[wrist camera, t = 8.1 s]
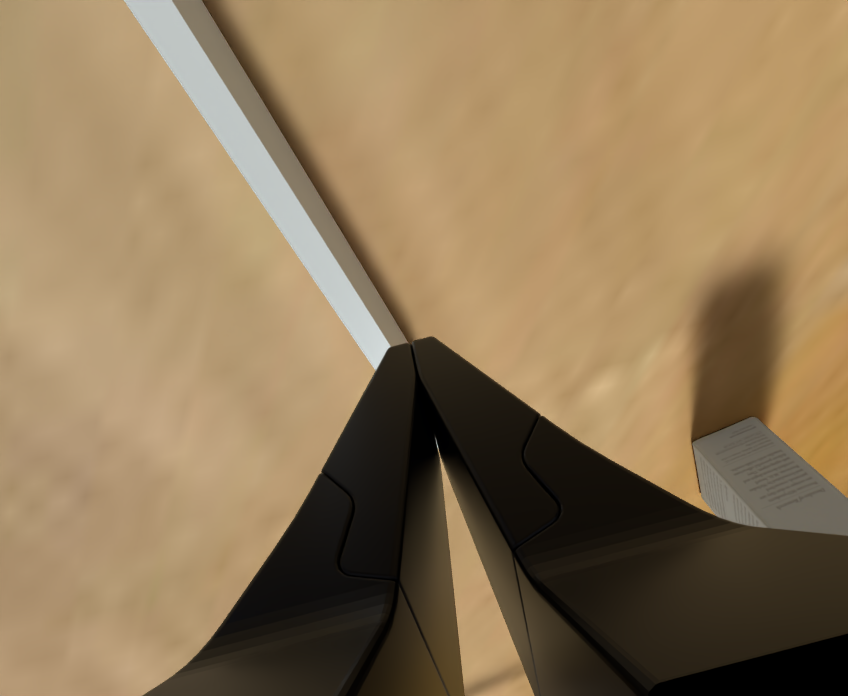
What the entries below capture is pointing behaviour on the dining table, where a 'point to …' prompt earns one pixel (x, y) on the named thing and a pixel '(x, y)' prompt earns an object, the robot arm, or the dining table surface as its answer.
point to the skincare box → (765, 482)
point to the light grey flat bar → (267, 164)
